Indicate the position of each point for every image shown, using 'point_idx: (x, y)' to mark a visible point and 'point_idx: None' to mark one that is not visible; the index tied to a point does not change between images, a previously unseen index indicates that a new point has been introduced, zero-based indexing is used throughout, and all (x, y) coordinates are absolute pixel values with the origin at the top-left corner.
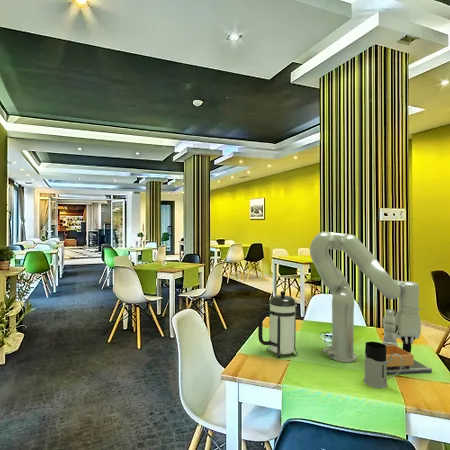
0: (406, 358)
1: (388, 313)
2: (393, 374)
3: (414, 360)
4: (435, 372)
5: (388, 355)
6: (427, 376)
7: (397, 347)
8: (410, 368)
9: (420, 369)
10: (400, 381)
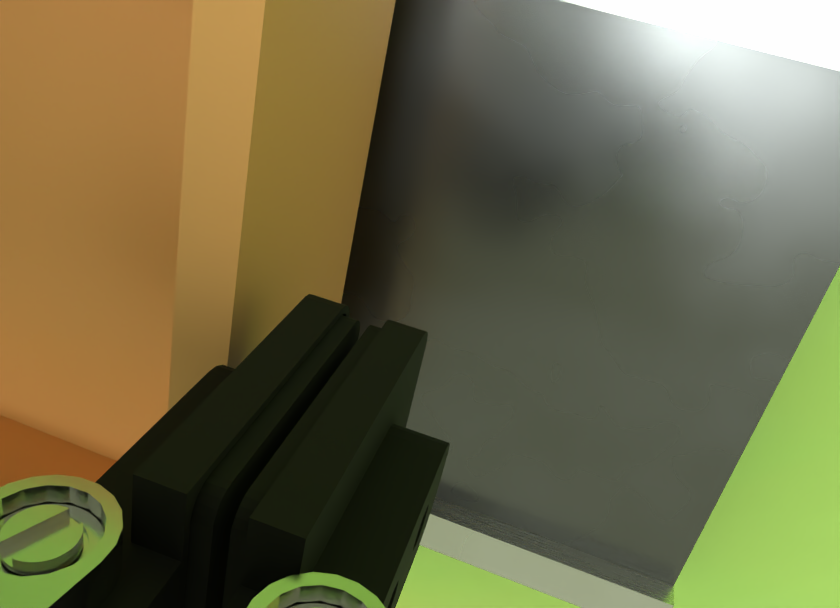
0: None
1: None
2: None
3: (830, 211)
4: (737, 601)
5: (62, 40)
6: (459, 593)
7: (188, 154)
8: None
9: (438, 543)
10: None
